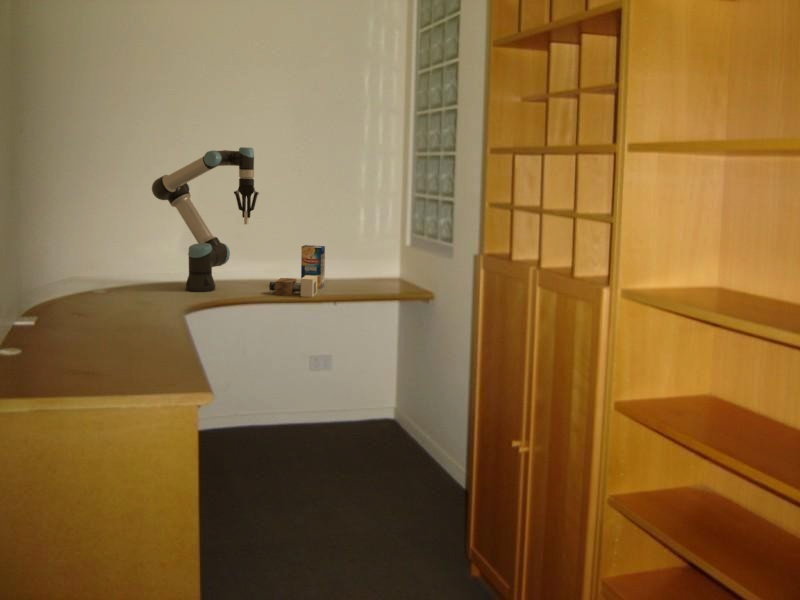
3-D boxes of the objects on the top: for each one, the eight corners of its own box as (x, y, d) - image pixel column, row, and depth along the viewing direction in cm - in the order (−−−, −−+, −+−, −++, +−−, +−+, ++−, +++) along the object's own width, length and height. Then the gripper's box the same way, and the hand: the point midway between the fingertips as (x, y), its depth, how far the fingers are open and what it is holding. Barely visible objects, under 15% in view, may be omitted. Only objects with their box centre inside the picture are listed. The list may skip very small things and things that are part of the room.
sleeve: (275, 295, 461) (275, 281, 460) (281, 291, 473) (281, 278, 472) (290, 295, 461) (291, 282, 459) (296, 292, 472) (296, 278, 471)
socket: (300, 296, 460) (300, 278, 458) (305, 292, 472) (305, 275, 470) (312, 297, 459) (312, 279, 458) (317, 293, 471) (317, 275, 470)
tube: (269, 291, 465) (269, 282, 464) (271, 289, 470) (271, 281, 469) (311, 293, 463) (311, 284, 462) (313, 291, 467) (313, 283, 467)
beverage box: (320, 288, 485) (321, 247, 481) (300, 287, 487) (301, 246, 483) (324, 286, 491) (325, 246, 488) (305, 285, 494) (305, 245, 490)
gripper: (231, 177, 463) (231, 224, 468) (256, 178, 462) (256, 225, 466) (236, 177, 471) (236, 222, 475) (260, 178, 469) (260, 224, 473)
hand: (246, 224), depth 471 cm, fingers closed
